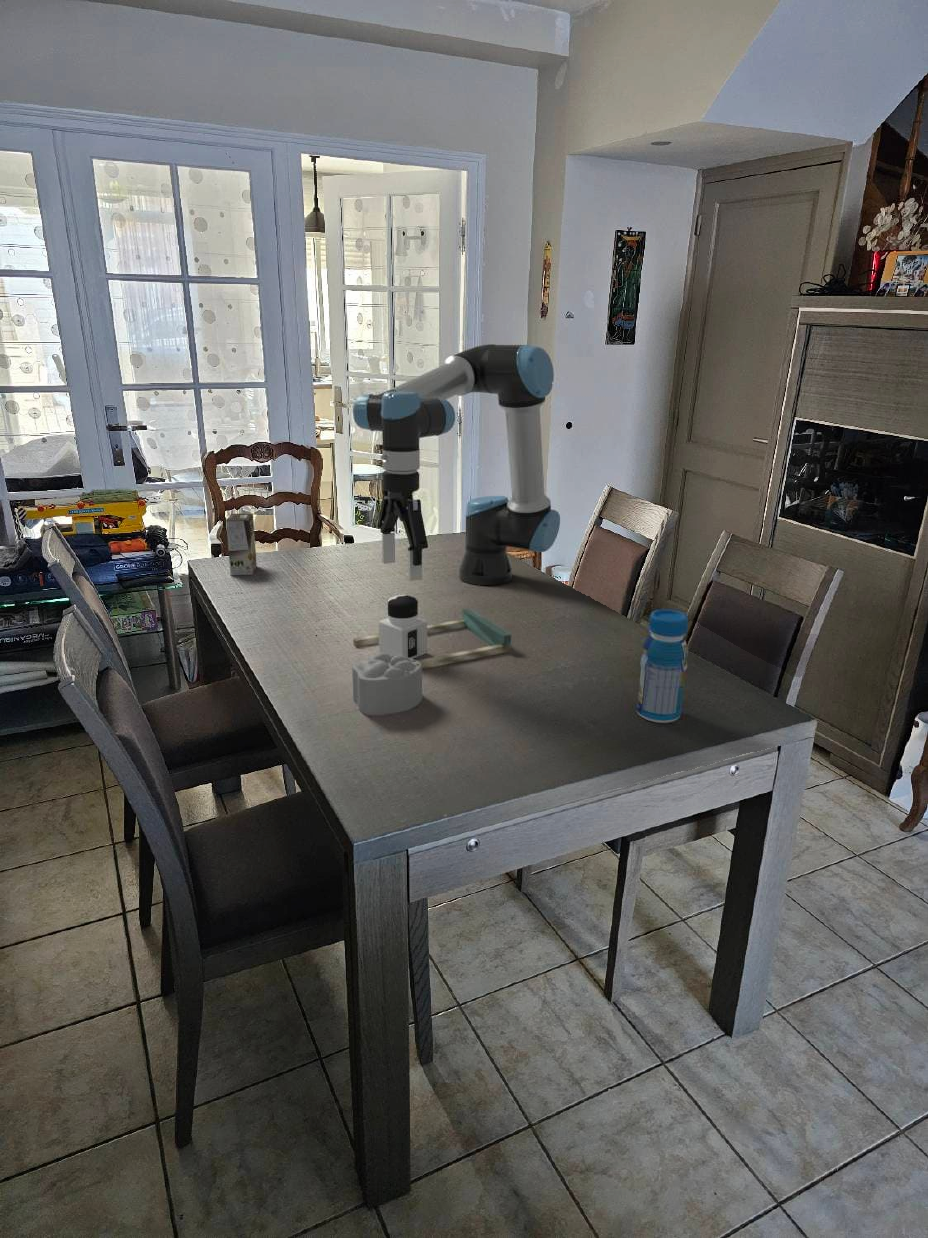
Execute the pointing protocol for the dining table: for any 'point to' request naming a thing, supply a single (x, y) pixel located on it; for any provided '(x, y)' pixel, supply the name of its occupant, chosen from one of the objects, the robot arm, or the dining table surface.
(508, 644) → the beige u-shaped frame
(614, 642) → the dining table surface
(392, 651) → the container
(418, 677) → the lumpy-topped squat cylinder
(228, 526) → the coffee box
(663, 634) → the beverage bottle
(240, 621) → the dining table surface
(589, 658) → the dining table surface
